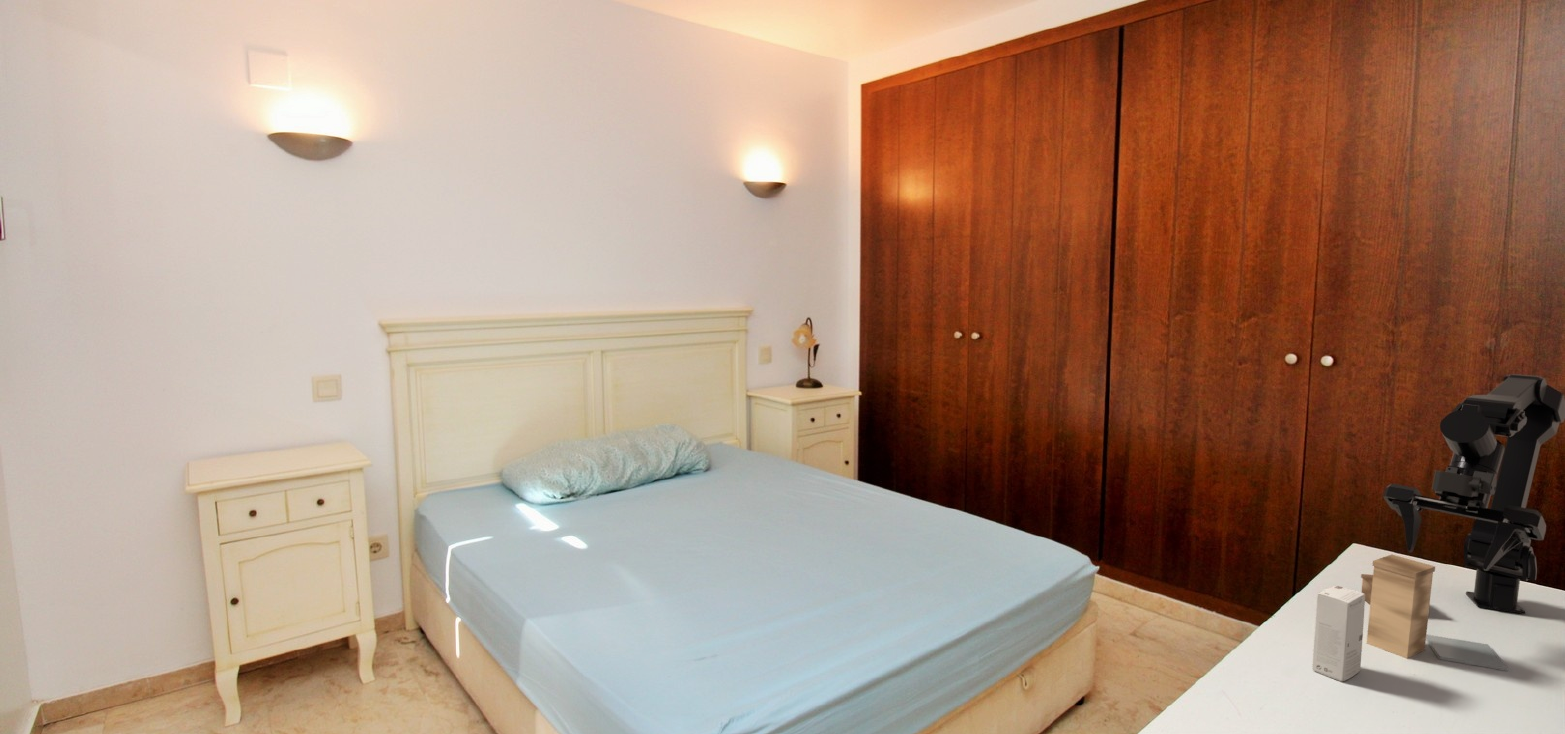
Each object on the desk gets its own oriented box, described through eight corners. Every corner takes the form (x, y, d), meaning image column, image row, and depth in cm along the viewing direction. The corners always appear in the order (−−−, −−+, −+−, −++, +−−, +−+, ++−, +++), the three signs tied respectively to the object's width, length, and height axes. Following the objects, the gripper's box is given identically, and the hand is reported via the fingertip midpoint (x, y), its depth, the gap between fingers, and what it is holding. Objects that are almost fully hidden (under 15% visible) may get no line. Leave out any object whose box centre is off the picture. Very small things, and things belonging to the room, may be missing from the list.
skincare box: (1343, 683, 112) (1351, 603, 110) (1309, 670, 115) (1316, 592, 114) (1361, 671, 115) (1369, 593, 113) (1327, 658, 119) (1334, 583, 117)
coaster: (1423, 636, 125) (1424, 634, 125) (1487, 647, 122) (1487, 644, 122) (1439, 659, 118) (1439, 655, 118) (1507, 670, 115) (1507, 667, 115)
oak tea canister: (1383, 635, 126) (1391, 554, 124) (1426, 650, 121) (1435, 566, 119) (1365, 643, 124) (1372, 560, 122) (1407, 659, 118) (1416, 573, 117)
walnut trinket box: (1359, 598, 141) (1361, 573, 140) (1398, 600, 140) (1401, 576, 139) (1378, 613, 135) (1380, 588, 134) (1420, 616, 133) (1422, 590, 133)
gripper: (1388, 437, 126) (1359, 524, 122) (1545, 460, 110) (1517, 560, 107) (1405, 466, 132) (1379, 549, 128) (1557, 491, 116) (1531, 587, 113)
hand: (1445, 560), depth 119 cm, fingers open, 9 cm apart
